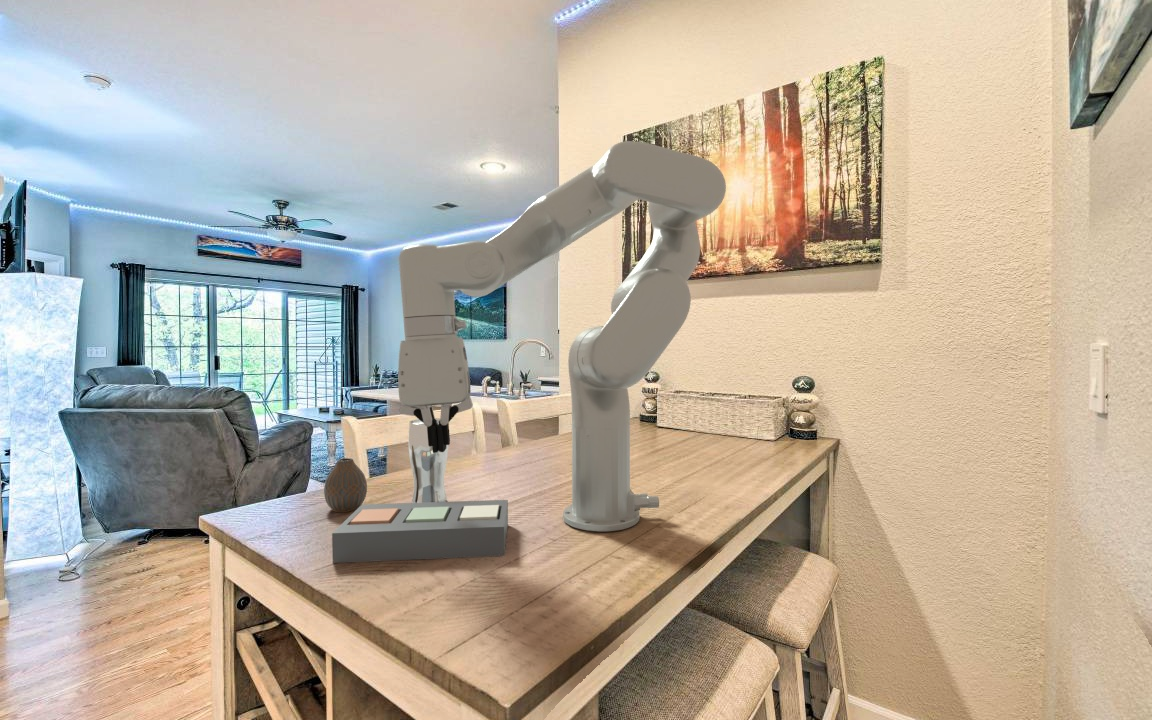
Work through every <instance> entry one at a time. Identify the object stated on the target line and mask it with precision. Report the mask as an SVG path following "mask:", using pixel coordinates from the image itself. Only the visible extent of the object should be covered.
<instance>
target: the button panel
mask: <svg viewBox="0 0 1152 720" xmlns="http://www.w3.org/2000/svg"><path fill="white" fill-rule="evenodd" d="M508 502H509V500H508V499H494V500H493V499H491V500H490V499H489V500H488V499H487V500H486V499H485V500H464V501H462V500H457V501H446V502H425V503H412V502H402V503H396V502H395V503H367V504H361V505H360V507H359V508H357V509H355V510H354V512H353V513H352V514H350V515H349V516H348V517H347V518H346V519H345V520H344V521H343V522H342V523H341V524H339V526H338V527H337V528H336V529H335V530H334V531H333V532H332V533H331V542H332V543H331V546H332V547H331V548H332V563H333V564H339V563H361V562H362V563H363V562H385V561H390V562H391V561H408V560H409V561H411V560H414V561H415V560H433V559H435V560H436V559H437V560H438V559H455V558H456V559H457V558H461V559H462V558H478V557H481V558H483V557H505V553H506V544H507V538H508V537H507V535H508V527H509V512H508V511H509V503H508ZM482 505H499V519H497V520H469V521H460V516H461V513H462V511H463V508H464V506H482ZM422 507H449V515H448V518H447V520H446V521H442V522H414V523H406V518H407V517H408V516H409V514H410V513H411V511H412V510H413V508H422ZM393 508H398V515H397V516H396V517H395V519H394V520H393V521H392V523H387V524H359V525H350V522H351V521H352V520H353V519H354V518H355V517H356V516H357V515H358V514H359V513H360V512H361V511H362V510H364V509H393Z"/></svg>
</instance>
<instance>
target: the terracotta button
mask: <svg viewBox="0 0 1152 720" xmlns="http://www.w3.org/2000/svg"><path fill="white" fill-rule="evenodd" d="M397 515H398V508H393V509H364V510H362V511H361V512H360V513H359V514H358V515H357V516H356V517H355V518H354V519H353V520H352V521H351V522H350V525H359V524H387V523H392V521H393V520H394V519H395V517H396V516H397Z"/></svg>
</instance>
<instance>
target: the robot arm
mask: <svg viewBox="0 0 1152 720" xmlns="http://www.w3.org/2000/svg"><path fill="white" fill-rule="evenodd" d="M726 192H727V184H726V179H725V177H724V174H723V172H722V170H720V168H719V167H718V166H717V165H715V164H714V163H713V162H712V161H710V160H709V159H706V158H704V157H701V156H697V155H694V154H689V153H686V152H683V151H679V150H675V149H671V148H667V147H664V146H659V145H655V144H651V143H647V142H643V141H642V142H641V141H634V140H631V141H630V140H626V141H620V142H618V143H616V144H614V145H612V146H611V147H610V148H609V149H608V150H607V151H606V152H605V154H604V155H603V156H602V157H601V158H600V159H599V160H598V162H596V163H595V164H593V165H592V166H590V167H588V168H587V169H585V170H584V171H582V172H580V173H578V174H577V175H575V176H574V177H572V178H571V179H569V180H567V181H566V182H564V183H562V184H561V185H559V186H557V187H555V188H554V189H552V190H550V191H548V192H547V193H545V194H544V195H542V196H540V197H539V198H538V199H536V201H534V202H533V203H532V204H531V205H530V206H528V207H527V208H526V209H525V210H524V212H523V213H522V214H521V215H520V216H519V217H518V218H517V219H516V220H515V221H513V222H512V223H511V224H510V225H509V226H508V227H506V228H505V229H503V230H502V231H501V232H500V233H498V234H496V235H495V236H493V237H492V238H490V239H489V240H487V241H482V240H472V241H467V242H459V243H454V244H446V245H436V244H414V245H408V246H406V247H403V248H402V249H401V250H400V252H399V254H398V265H399V267H398V269H399V277H400V278H399V280H400V281H399V282H400V291H401V303H402V305H401V306H402V316H403V317H402V318H403V329H404V340H400V345H399V353H398V370H397V371H398V373H397V374H398V377H397V378H398V379H397V381H398V382H397V383H398V384H397V385H398V387H397V388H398V397H399V401H400V406H399V413H400V414H401V415H406V416H411V417H412V416H413V417H415V418H417V419H419V420H420V421H422V422H423V423H424V425H425V426H427V434H428V445H429V446H432V449H433V453H437V452H438V451H440V452H444V451H445V450H446V445H448V446H450V444H451V438H450V424H449V423H450V421H451V420H452V419H453V418H454V417H455V416H456V415H457V414H458V413H462V412H465V411H467V410H470V409H472V408H473V405H474V403H473V401H472V398H471V397H472V396H471V379H470V370H469V364H468V363H469V362H468V357H467V351H466V346H465V343H464V339H463V337H462V336H459V337H458V335H457V334H458V332H459V331H461V330H464V329H467V324H466V323H467V322H466V320H465V319H462V320H461V319H458V318H457V316H456V307H455V291H460V292H461V293H462V294H465V295H467V296H468V297H472V298H473V297H474V298H480V297H484V296H487V295H489V294H491V293H493V292H494V291H495V290H497V289H499V288H500V287H502V286H503V285H505V284H506V283H508V282H510V281H511V280H513V279H514V278H517V276H520V274H522V273H524V272H525V271H527V270H529V269H530V268H531V267H533V266H534V265H536V264H538V263H540V262H542V261H543V260H546V259H547V258H549V257H551V256H554V255H555V254H558V253H559V252H560V251H562V250H563V249H566V247H568V246H569V245H571V244H572V243H574V242H576V241H578V240H579V239H581V238H582V237H583V236H585V235H587V234H588V233H590V232H591V231H593V230H594V229H597V228H598V227H599V226H601V225H602V224H604V223H606V222H607V221H609V220H611V219H613V218H614V217H616V216H617V215H618V214H620V213H622V212H623V211H625V210H626V209H627V208H629V207H631V206H632V204H634V203H635V202H637V201H638V200H641V201H643V202H644V201H645V202H648V207H647V209H648V216H649V219H650V223H651V227H652V241H651V242H650V245H649V246H648V248H647V250H646V251H645V253H644V254H643V256H642V258H640V260H639V261H638V262H637V264H636V265H635V266H634V268H632V270H631V271H630V272H629V274H628V275H627V277H626V278H625V279H624V280H623V282H622V283H621V284H620V285H619V286H618V287H617V289H616V290H615V292H614V293H613V296H612V299H611V303H610V312H611V316H610V317H609V319H608V320H607V321H606V323H605V324H604V325H601V326H594V327H593V326H592V327H589V328H587V329H584V331H583V330H582V332H580V333H579V334H578V335H577V336H576V337H575V338H574V340H573V341H572V343H571V345H570V348H569V353H568V360H567V361H568V362H567V363H568V365H567V366H568V374H569V384H570V386H569V387H570V395H571V396H570V398H571V483H572V484H571V492H572V493H571V504H570V505H567V506H566V507H565V508H564V509H563V511H562V520H563V521H564V523H565V524H567V525H569V526H570V527H572V528H575V529H578V530H582V531H589V532H597V533H598V532H599V533H600V532H604V533H605V532H615V531H622V530H627V529H629V528H631V527H633V526H635V525H637V524H638V522H639V521H640V511H641V509H643V508H644V509H646V508H648V509H659V508H660V498H659V496H658V495H648V493H636V494H635V493H634V492H633V491H632V489H631V460H630V459H631V457H630V456H631V443H630V442H631V427H630V426H631V407H630V396H629V388H631V387H633V386H635V385H636V384H638V383H640V381H641V380H642V379H644V378H645V376H646V375H647V374H648V373H649V372H650V370H651V369H652V368H653V366H654V365H655V364H656V363H657V361H658V360H659V358H660V357H661V356H662V354H663V353H664V352H665V350H666V349H667V348H668V347H669V345H670V343H671V342H672V341H673V339H674V338H675V337H676V335H677V334H678V333H679V331H680V330H681V328H682V327H683V325H684V323H685V322H686V320H687V318H688V314H689V313H690V309H691V303H692V302H691V300H692V299H691V297H692V296H691V292H690V291H691V290H690V288H689V285H688V283H687V282H688V280H689V279H690V277H691V276H692V274H693V273H694V271H695V270H696V267H697V265H698V264H699V259H700V253H701V245H700V237H699V235H700V234H699V230H698V227H697V223H696V222H697V221H699V220H701V219H703V218H705V217H707V216H708V215H710V214H713V212H714V211H716V210H717V209H718V208H719V207H720V205H721V204H722V203H723V200H724V199H725V195H726ZM433 406H441V407H440V417H439V418H440V421H439V424H438V423H437V420H436V419H435V418H436V416H435V413H434V409H433Z"/></svg>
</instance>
